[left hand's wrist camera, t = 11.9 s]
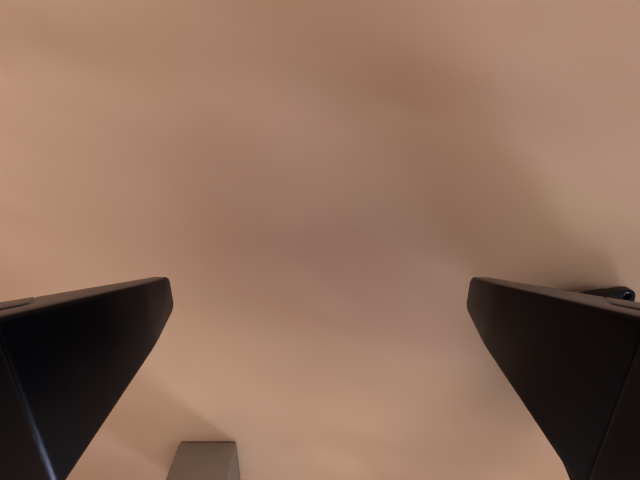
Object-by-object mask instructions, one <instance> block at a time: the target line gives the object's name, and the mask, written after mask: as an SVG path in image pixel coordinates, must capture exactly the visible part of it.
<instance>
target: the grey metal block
mask: <svg viewBox="0 0 640 480" xmlns="http://www.w3.org/2000/svg"><path fill="white" fill-rule="evenodd" d="M166 480H240V475H239V466H238V458H237V449H236V442H181V443H180V446H179V448H178V451H177V453H176V456H175V458H174V461H173V463H172V466H171V468H170V471H169V473H168V476H167V478H166Z"/></svg>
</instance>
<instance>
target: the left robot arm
mask: <svg viewBox="0 0 640 480" xmlns="http://www.w3.org/2000/svg"><path fill="white" fill-rule="evenodd" d="M624 294H625V296H623V295H624ZM634 300H635V293H634V291H633V290H631V289H629V288H628V287H616V288H610V289H597V290H590V291H584V292H571V291H565V290H559V289H553V288H547V287H541V286H535V285H529V284H523V283H517V282H511V281H506V280H500V279H494V278H488V277H474V278H472V279H471V281H470V286H469V292H468V298H467V309H468V312H469V314H470V316H471V318H472V320H473V322H474V324H475V326H476V328H477V330H478V332H479V335H480V337H481V339H482V340H483V342H484V344H485V346H486V347H487V349H488V351H489V352H490V354H491V355H492V357H493V358H494V360H495V361H496V363H497V364H498V366H499V367H500V369H501V370H502V372H503V373H504V375H505V376H506V378H507V379H508V381H509V382H510V384H511V385H512V387H513V388H514V390H515V391H516V393H517V394H518V396H519V397H520V399H521V400H522V402H523V403H524V405H525V406H526V408H527V409H528V411H529V412H530V414H531V415H532V417H533V418H534V420H535V421H536V423H537V424H538V426H539V427H540V429H541V430H542V432H543V433H544V435H545V436H546V438H547V439H548V441H549V442H550V444H551V445H552V447H553V448H554V450H555V451H556V453H557V454H558V456H559V457H560V459H561V460H562V462H563V464H564V466H565V468H566V471H567V473H568V476H569V478H570V480H640V303H639V302H634ZM172 309H173V298H172V292H171V286H170V281H169V279H168V278H166V277H152V278H146V279H140V280H135V281H129V282H123V283H117V284H111V285H105V286H99V287H93V288H87V289H81V290H75V291H69V292H64V293H58V294H52V295H46V296H40V297H36V298H34V297H31V298H25V299H19V300H13V301H7V302H1V303H0V480H66V478H67V477H68V475H69V474H70V472H71V471H72V469H73V468H74V466H75V465H76V463H77V462H78V460H79V459H80V457H81V456H82V454H83V453H84V451H85V450H86V448H87V447H88V445H89V444H90V442H91V441H92V439H93V438H94V436H95V435H96V433H97V432H98V430H99V429H100V427H101V426H102V424H103V423H104V421H105V420H106V418H107V417H108V415H109V414H110V412H111V411H112V409H113V408H114V406H115V405H116V403H117V402H118V400H119V399H120V397H121V396H122V394H123V393H124V391H125V390H126V388H127V387H128V385H129V384H130V382H131V381H132V379H133V378H134V376H135V375H136V373H137V372H138V370H139V369H140V367H141V366H142V364H143V363H144V361H145V360H146V358H147V357H148V355H149V354H150V352H151V351H152V349H153V347H154V346H155V344H156V342H157V340H158V339H159V337H160V335H161V332H162V330H163V328H164V326H165V324H166V322H167V320H168V318H169V316H170V314H171V312H172Z"/></svg>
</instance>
